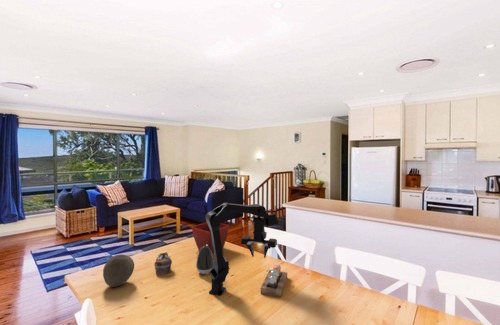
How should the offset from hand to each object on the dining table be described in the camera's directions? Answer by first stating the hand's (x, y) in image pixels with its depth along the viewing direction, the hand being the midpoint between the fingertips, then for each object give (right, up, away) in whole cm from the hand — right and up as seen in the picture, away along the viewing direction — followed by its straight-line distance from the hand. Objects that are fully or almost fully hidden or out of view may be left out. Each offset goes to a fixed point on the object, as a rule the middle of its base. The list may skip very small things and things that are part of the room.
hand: (258, 257), depth 132 cm
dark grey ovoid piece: (-30, -13, +10) cm, 34 cm away
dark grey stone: (-73, -13, -3) cm, 74 cm away
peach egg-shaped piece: (+10, -10, +1) cm, 14 cm away
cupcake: (-55, -13, +11) cm, 58 cm away
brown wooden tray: (+8, -13, -5) cm, 16 cm away
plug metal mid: (+8, -10, -5) cm, 14 cm away
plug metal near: (+6, -10, -10) cm, 16 cm away
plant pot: (-33, -11, +43) cm, 55 cm away
